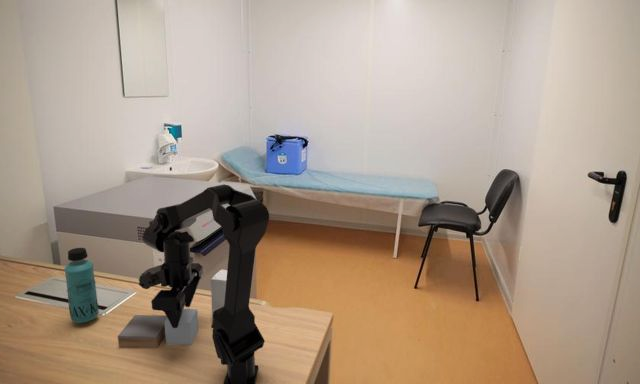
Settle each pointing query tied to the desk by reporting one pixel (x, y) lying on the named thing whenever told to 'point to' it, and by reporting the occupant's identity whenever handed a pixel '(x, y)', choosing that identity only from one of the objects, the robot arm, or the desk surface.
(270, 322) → the desk surface
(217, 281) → the skincare box
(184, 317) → the cube
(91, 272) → the beverage bottle
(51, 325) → the desk surface
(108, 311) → the desk surface
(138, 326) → the base
